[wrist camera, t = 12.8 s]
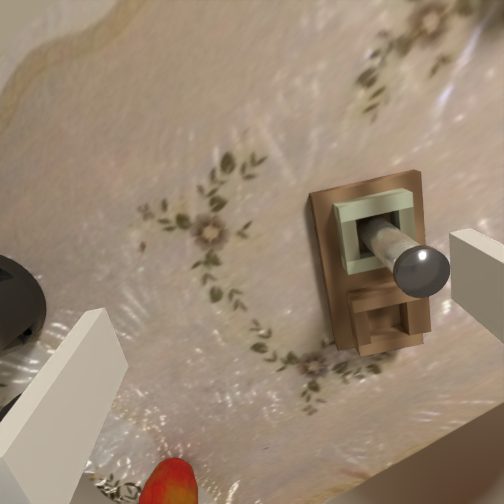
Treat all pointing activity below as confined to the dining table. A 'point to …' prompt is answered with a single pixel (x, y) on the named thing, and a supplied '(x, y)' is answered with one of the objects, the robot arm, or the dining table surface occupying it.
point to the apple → (171, 484)
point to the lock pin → (405, 257)
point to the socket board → (371, 289)
